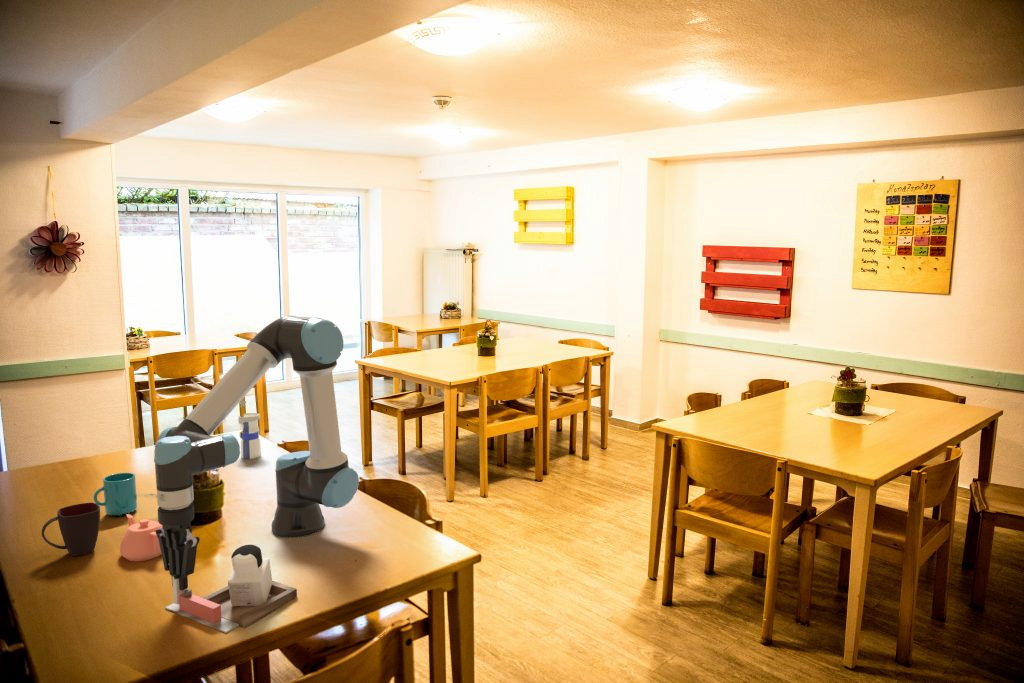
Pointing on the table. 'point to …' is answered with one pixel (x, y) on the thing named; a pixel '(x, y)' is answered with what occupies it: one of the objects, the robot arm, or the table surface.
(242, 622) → the brown tray
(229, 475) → the table surface
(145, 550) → the teapot
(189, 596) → the bar
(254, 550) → the container
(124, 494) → the cup
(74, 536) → the mug
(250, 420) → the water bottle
